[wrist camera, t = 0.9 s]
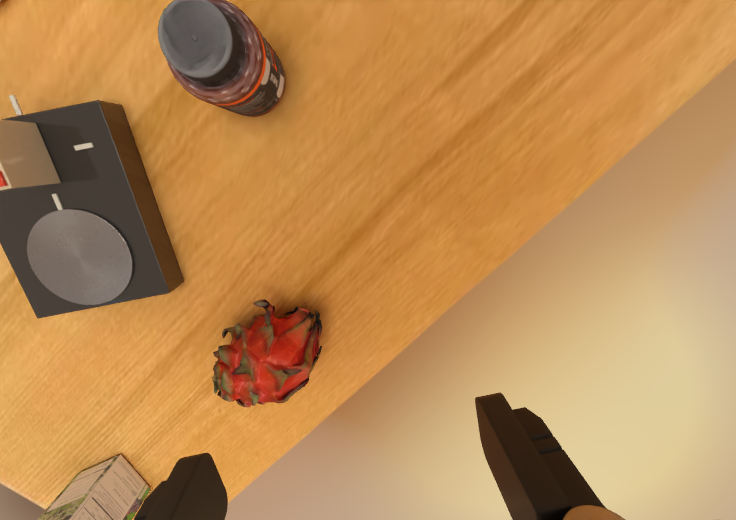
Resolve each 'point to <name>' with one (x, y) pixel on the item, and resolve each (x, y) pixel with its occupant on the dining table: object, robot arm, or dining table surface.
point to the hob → (90, 200)
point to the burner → (80, 256)
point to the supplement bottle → (221, 56)
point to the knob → (24, 157)
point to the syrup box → (100, 494)
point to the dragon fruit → (267, 357)
